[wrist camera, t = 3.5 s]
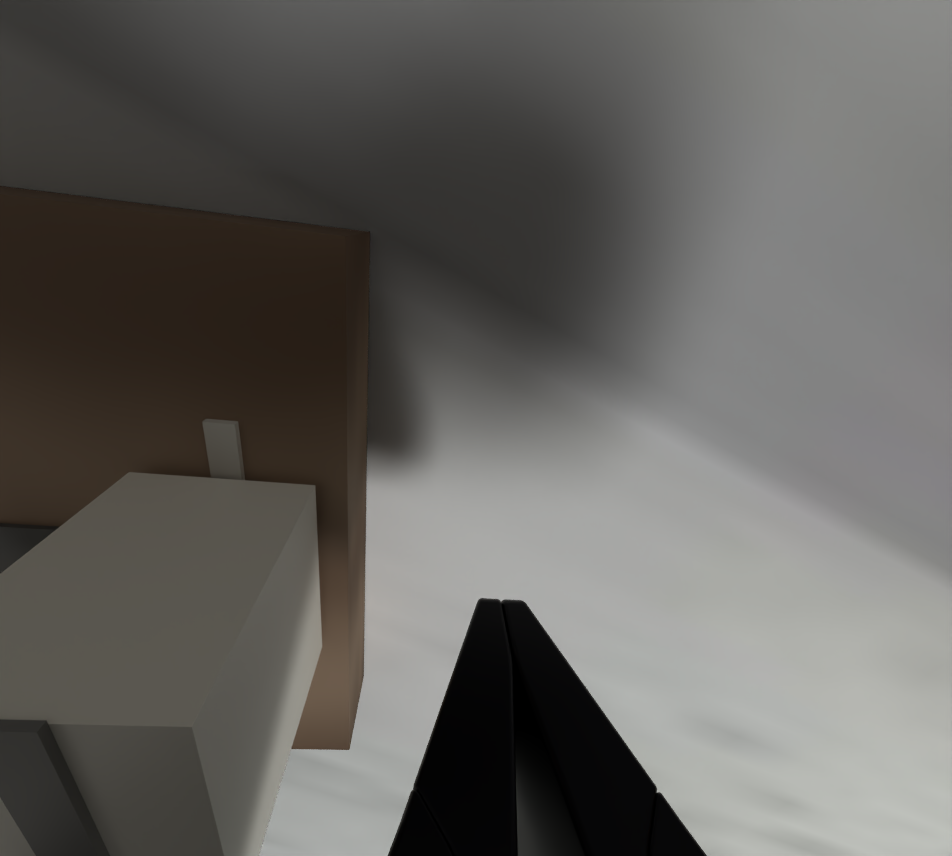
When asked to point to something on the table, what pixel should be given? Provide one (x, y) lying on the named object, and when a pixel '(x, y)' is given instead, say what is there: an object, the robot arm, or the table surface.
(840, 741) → the table surface
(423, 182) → the table surface
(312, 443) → the board
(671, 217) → the table surface
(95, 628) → the fader tab
